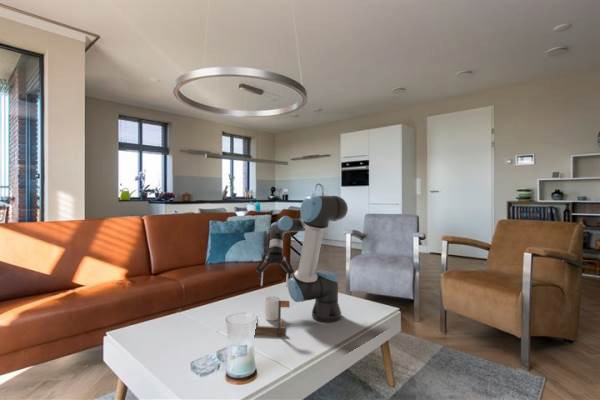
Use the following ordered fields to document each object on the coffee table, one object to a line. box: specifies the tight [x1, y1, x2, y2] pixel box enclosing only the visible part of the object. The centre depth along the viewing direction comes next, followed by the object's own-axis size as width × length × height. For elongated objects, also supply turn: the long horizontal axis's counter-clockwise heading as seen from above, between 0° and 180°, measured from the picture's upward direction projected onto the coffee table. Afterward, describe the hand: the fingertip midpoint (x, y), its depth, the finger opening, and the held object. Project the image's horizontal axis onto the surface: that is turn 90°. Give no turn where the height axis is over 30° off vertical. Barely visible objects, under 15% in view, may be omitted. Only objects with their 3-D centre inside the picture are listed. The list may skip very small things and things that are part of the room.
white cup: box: [263, 295, 281, 322], centre depth 164 cm, size 8×8×10 cm
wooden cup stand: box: [254, 299, 290, 338], centre depth 149 cm, size 12×20×16 cm, turn 86°
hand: (274, 285), depth 171 cm, fingers open, 13 cm apart
